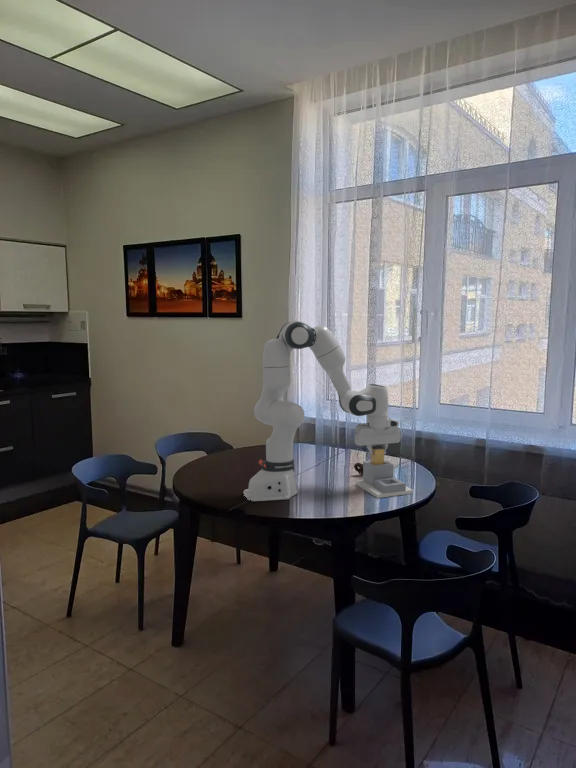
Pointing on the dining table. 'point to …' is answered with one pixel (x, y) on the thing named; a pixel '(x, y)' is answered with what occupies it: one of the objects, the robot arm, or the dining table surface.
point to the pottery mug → (359, 467)
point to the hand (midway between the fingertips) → (377, 454)
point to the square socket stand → (382, 480)
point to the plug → (377, 455)
